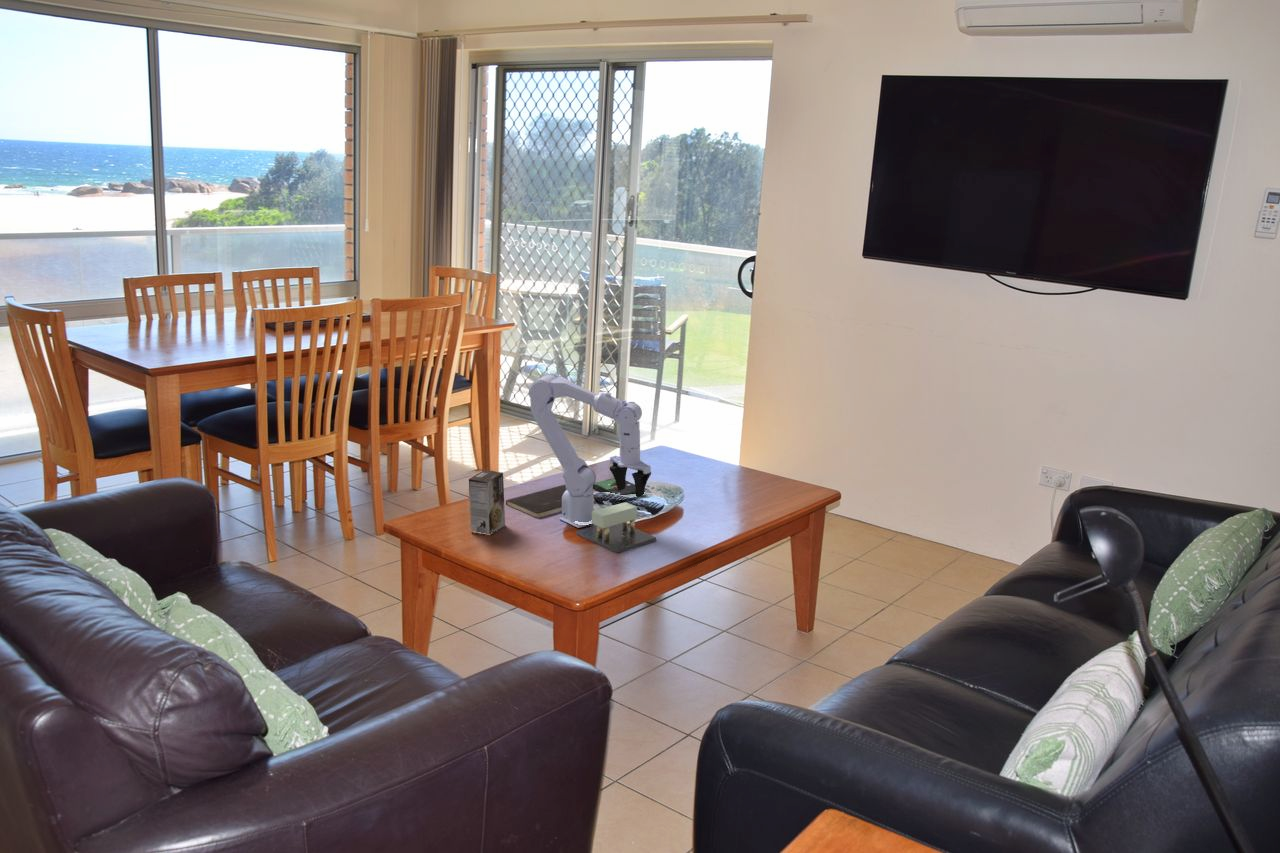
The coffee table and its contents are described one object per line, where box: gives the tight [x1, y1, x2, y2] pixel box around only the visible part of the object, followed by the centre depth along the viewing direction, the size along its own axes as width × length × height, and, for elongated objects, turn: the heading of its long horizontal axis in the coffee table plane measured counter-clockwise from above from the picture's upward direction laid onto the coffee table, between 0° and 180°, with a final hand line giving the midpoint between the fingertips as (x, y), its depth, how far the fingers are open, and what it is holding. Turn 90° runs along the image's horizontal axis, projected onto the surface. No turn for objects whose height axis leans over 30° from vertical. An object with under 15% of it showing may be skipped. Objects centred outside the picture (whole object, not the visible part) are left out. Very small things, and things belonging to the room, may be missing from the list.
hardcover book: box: [505, 484, 597, 519], centre depth 314 cm, size 16×23×2 cm
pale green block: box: [591, 501, 638, 528], centre depth 284 cm, size 5×12×4 cm, turn 130°
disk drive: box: [592, 477, 646, 495], centre depth 324 cm, size 10×3×15 cm
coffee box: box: [468, 469, 506, 534], centre depth 290 cm, size 9×6×16 cm
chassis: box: [575, 519, 657, 554], centre depth 286 cm, size 18×14×5 cm
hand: (630, 492), depth 291 cm, fingers open, 7 cm apart
